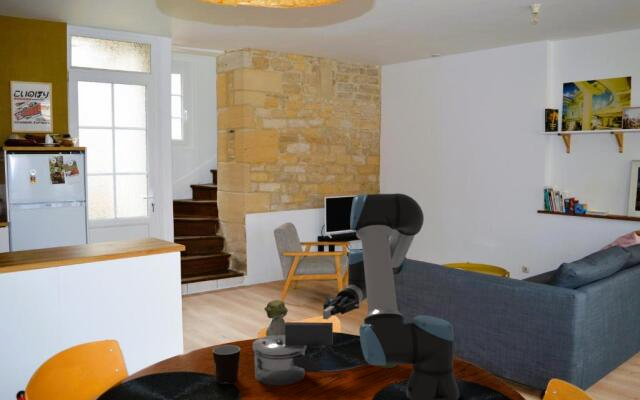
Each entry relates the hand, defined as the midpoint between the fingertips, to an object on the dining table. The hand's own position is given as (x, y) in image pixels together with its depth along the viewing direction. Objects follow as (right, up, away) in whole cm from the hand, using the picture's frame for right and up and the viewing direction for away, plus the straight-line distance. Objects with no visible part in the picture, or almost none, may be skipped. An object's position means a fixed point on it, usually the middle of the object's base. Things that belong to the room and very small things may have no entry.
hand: (325, 315), depth 192 cm
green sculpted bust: (-18, -17, +21) cm, 32 cm away
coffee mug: (-31, -19, -6) cm, 37 cm away
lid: (-10, -10, -4) cm, 15 cm away
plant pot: (+21, -18, +5) cm, 28 cm away
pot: (-12, -19, -5) cm, 23 cm away
